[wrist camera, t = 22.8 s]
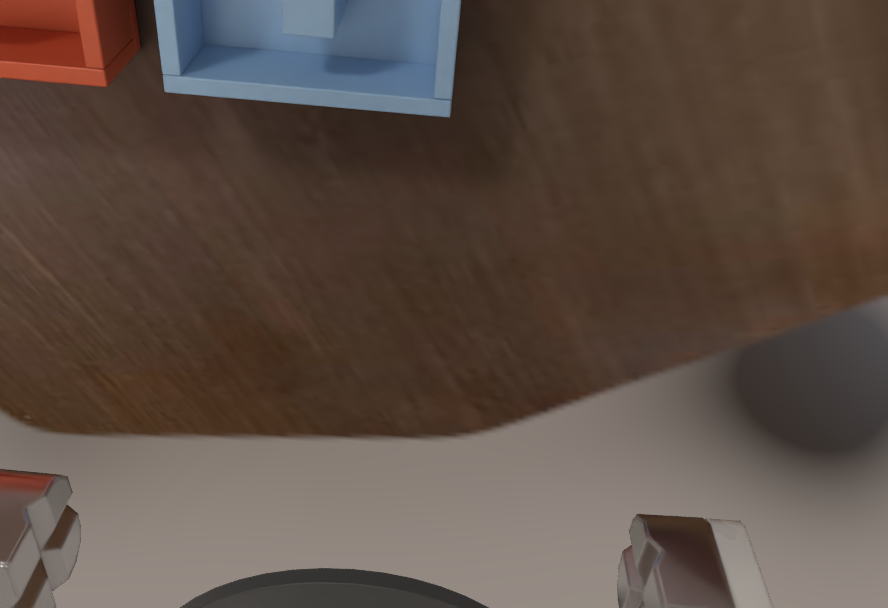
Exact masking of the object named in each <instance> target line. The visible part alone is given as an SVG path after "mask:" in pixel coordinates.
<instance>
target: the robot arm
mask: <svg viewBox="0 0 888 608" xmlns="http://www.w3.org/2000/svg"><path fill="white" fill-rule="evenodd" d="M71 494H72V489H71V486H70V483H69V480H68V477H67V476H63V475H57V474H47V473H37V472H26V471H16V470H5V469H0V608H56V603H55V600H54V597H53V593H52V591H54V590H55V589H56V588H58V587H59V586H60V585H62V584H63V583H64V582H66V581H67V580H68V579H69V577H70V575H71V573H72V570H73V568H74V566H75V563H76V561H77V556H78V552H79V547H80V542H81V525H80V521H79V516H78V513H77V512H75V511H74V510H73V509H72V508H71V507H69V506H68V505H67V503H68V501H69V499H70V497H71ZM629 533H630V539H631V544H632V545H631V546H629V547H628V548H627V549H625V550H624V551H623V552H622V556H621V559H620V563H619V568H618V580H617V591H618V603H619V608H774V607H773V604H772V601H771V599H770V596H769V593H768V590H767V587H766V584H765V581H764V578H763V576H762V573H761V570H760V567H759V564H758V561H757V558H756V555H755V552H754V550H753V547H752V544H751V541H750V539H749V535H748V533H747V530H746V527H745V526H744V525H743V523H742V522H741V521H734V520H720V519H703V518H695V517H679V516H662V515H660V516H659V515H644V514H637V515H636V516H635V518H634V519H633V521H632V524H631V527H630V530H629Z"/></svg>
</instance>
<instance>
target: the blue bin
mask: <svg viewBox="0 0 888 608" xmlns="http://www.w3.org/2000/svg"><path fill="white" fill-rule="evenodd" d="M154 8H155V16H156V24H157V33H158V41H159V50H160V58H161V67H162V73H163V74H164V75H163V82H164V90H165V92H168V93H179V94H190V95H202V96H213V97H224V98H235V99H247V100H258V101H269V102H281V103H292V104H303V105H314V106H326V107H337V108H348V109H359V110H371V111H382V112H393V113H405V114H416V115H427V116H438V117H450V114H451V104H452V93H453V83H454V72H455V62H456V51H457V40H458V30H459V19H460V9H461V0H346V8H345V10H344V13H343V16H342V19H341V21H340V24H339V27H338V29H337V32H336V35H335V37H334V39H328V38H318V37H308V36H297V35H287V34H283V32H282V0H154Z"/></svg>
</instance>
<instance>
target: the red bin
mask: <svg viewBox="0 0 888 608" xmlns="http://www.w3.org/2000/svg"><path fill="white" fill-rule="evenodd" d="M139 50H140V40H139V33H138V25H137V18H136V10H135V2H134V0H0V78H10V79H21V80H33V81H44V82H55V83H66V84H78V85H89V86H100V87H107V86H108V85H109V84H110V83H111V82H112V81H113V79H114V78H115V77H116V76H117V75H118V74H119V73H120V71H121V70H122V69H123V68H124V67H125V66H126V65H127V63H128V62H129V61H130V60H131V59H132V58H133V56H134V55H135V54H136V53H137V52H138V51H139Z"/></svg>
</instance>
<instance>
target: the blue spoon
mask: <svg viewBox="0 0 888 608" xmlns="http://www.w3.org/2000/svg"><path fill="white" fill-rule="evenodd" d="M345 8H346V0H282V32H283V34H287V35H297V36H308V37H318V38H328V39H334V37H335V35H336V32H337V29H338V27H339V24H340V21H341V19H342V16H343V13H344V10H345Z"/></svg>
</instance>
